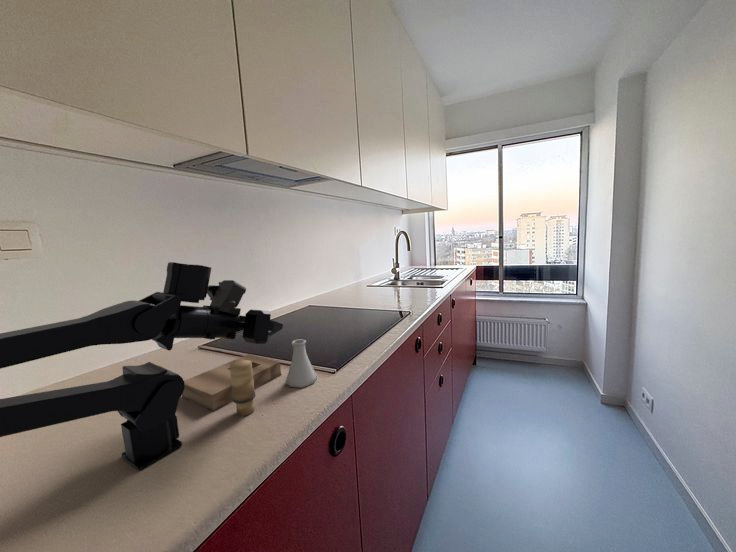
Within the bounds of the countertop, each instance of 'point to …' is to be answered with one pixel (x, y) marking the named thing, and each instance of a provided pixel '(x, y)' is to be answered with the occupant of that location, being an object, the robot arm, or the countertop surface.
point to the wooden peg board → (227, 382)
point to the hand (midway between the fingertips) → (268, 324)
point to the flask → (300, 367)
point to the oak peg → (243, 387)
